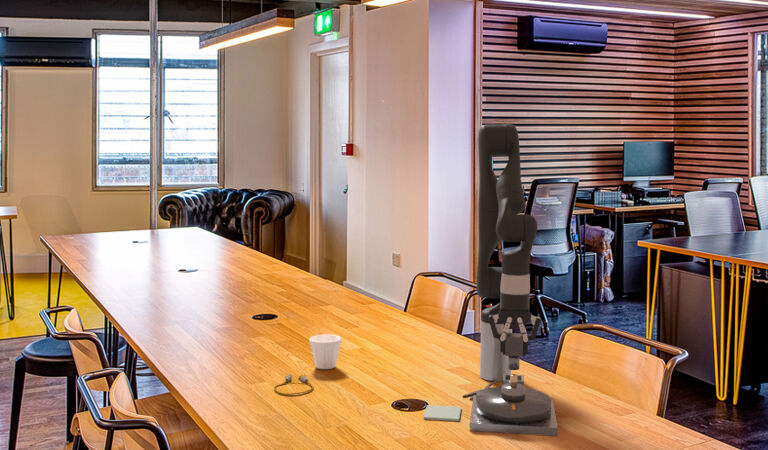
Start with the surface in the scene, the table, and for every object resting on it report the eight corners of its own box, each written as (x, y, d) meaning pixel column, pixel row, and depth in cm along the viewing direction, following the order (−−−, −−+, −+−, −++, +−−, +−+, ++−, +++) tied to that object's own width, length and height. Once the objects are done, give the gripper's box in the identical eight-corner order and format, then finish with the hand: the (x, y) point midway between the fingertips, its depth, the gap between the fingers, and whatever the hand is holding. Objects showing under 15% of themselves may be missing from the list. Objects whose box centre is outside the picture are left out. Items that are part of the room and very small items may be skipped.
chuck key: (504, 365, 209) (505, 332, 208) (522, 366, 208) (522, 333, 207) (504, 370, 204) (505, 336, 203) (522, 371, 204) (523, 337, 203)
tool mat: (427, 407, 208) (427, 405, 208) (461, 409, 207) (461, 406, 207) (423, 419, 199) (423, 416, 199) (458, 421, 198) (458, 419, 198)
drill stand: (473, 402, 212) (473, 395, 212) (552, 406, 209) (552, 399, 209) (469, 430, 192) (469, 422, 191) (557, 436, 188) (557, 428, 188)
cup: (340, 372, 239) (340, 342, 238) (307, 372, 239) (307, 342, 238) (342, 362, 249) (342, 334, 248) (311, 362, 249) (311, 334, 248)
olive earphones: (326, 383, 230) (326, 376, 230) (302, 399, 216) (302, 392, 215) (289, 378, 234) (289, 371, 234) (263, 394, 220) (263, 387, 220)
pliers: (527, 385, 225) (491, 403, 210) (527, 388, 225) (491, 406, 210) (497, 378, 231) (461, 396, 216) (497, 381, 231) (461, 399, 216)
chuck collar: (477, 394, 212) (477, 362, 210) (549, 398, 209) (549, 365, 208) (474, 420, 192) (474, 384, 191) (553, 425, 189) (554, 389, 188)
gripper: (542, 288, 207) (540, 352, 209) (487, 287, 209) (486, 349, 211) (543, 294, 199) (541, 359, 201) (487, 292, 202) (485, 357, 203)
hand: (513, 354), depth 206 cm, fingers closed on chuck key, 4 cm apart
